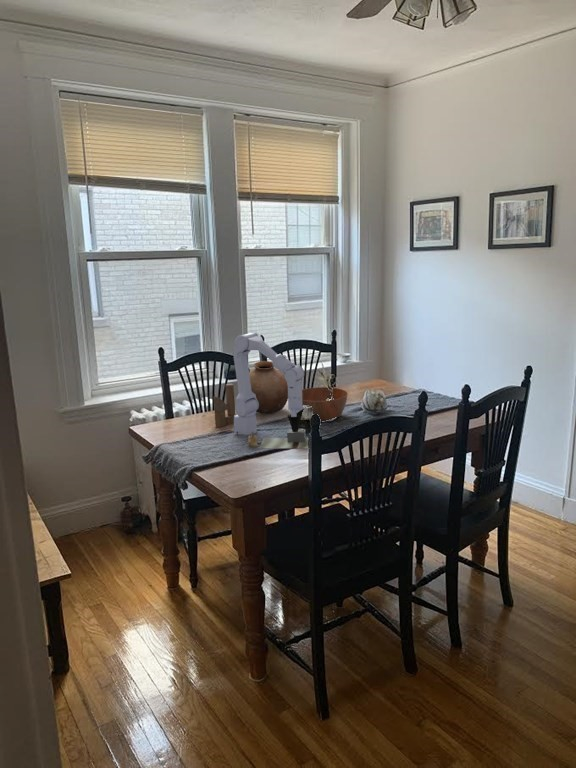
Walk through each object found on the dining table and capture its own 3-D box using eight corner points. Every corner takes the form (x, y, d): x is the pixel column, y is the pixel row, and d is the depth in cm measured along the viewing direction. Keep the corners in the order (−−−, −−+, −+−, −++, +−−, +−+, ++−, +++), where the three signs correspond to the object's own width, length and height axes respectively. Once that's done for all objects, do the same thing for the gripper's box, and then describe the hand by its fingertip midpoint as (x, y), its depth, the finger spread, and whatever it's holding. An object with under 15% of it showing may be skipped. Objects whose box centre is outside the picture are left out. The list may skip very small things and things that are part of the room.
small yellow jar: (248, 450, 227) (247, 433, 225) (249, 446, 230) (248, 430, 228) (257, 450, 226) (256, 433, 225) (258, 446, 230) (257, 430, 228)
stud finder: (287, 442, 230) (287, 431, 229) (288, 438, 234) (288, 428, 233) (304, 442, 229) (304, 431, 228) (305, 438, 234) (305, 428, 233)
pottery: (267, 403, 292) (264, 355, 286) (300, 411, 276) (298, 360, 270) (233, 413, 276) (230, 363, 270) (266, 422, 260) (263, 369, 254)
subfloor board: (259, 451, 225) (259, 448, 225) (264, 440, 237) (263, 438, 236) (309, 451, 223) (309, 448, 222) (312, 440, 234) (311, 438, 234)
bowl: (351, 410, 274) (350, 387, 271) (344, 427, 250) (344, 401, 247) (300, 409, 279) (299, 386, 277) (289, 425, 256) (288, 400, 253)
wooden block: (215, 426, 258) (212, 387, 254) (232, 420, 266) (229, 382, 262) (220, 427, 256) (218, 389, 252) (237, 421, 264) (235, 383, 260)
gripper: (303, 401, 220) (304, 434, 223) (306, 391, 234) (307, 423, 237) (285, 401, 221) (286, 434, 224) (289, 391, 235) (290, 423, 238)
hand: (296, 428), depth 231 cm, fingers open, 7 cm apart
